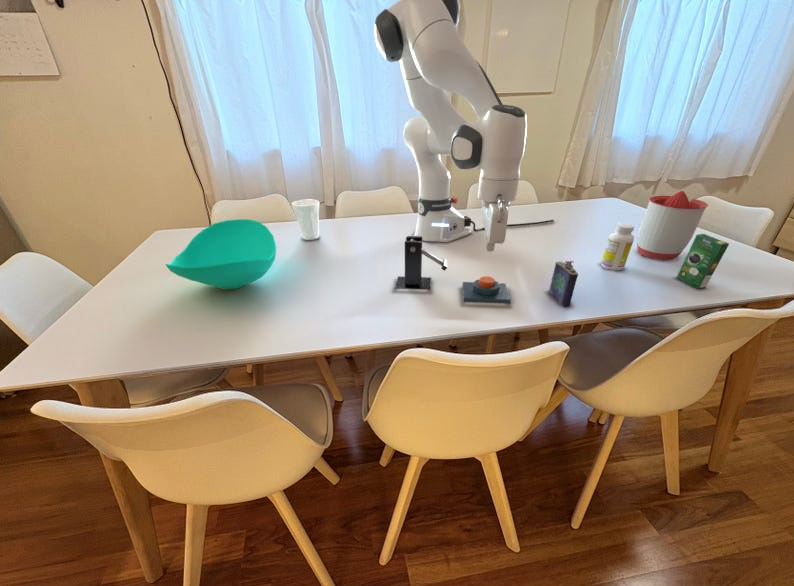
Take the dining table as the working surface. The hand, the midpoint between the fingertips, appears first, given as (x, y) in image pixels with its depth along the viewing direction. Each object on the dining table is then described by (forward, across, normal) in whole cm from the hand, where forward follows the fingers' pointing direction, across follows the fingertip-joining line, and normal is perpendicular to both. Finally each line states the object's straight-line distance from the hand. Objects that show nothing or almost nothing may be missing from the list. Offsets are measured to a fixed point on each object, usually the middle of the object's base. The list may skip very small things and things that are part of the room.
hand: (489, 249), depth 94 cm
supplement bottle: (+13, +25, -42) cm, 51 cm away
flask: (+14, +1, -20) cm, 25 cm away
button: (+10, 0, 0) cm, 10 cm away
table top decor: (+14, +4, +73) cm, 75 cm away
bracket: (+14, +6, +20) cm, 24 cm away
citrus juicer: (+13, +38, -61) cm, 73 cm away
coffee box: (+13, +14, -60) cm, 63 cm away
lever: (+5, +6, +16) cm, 18 cm away
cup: (+14, +46, +62) cm, 79 cm away
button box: (+14, 0, 0) cm, 14 cm away
